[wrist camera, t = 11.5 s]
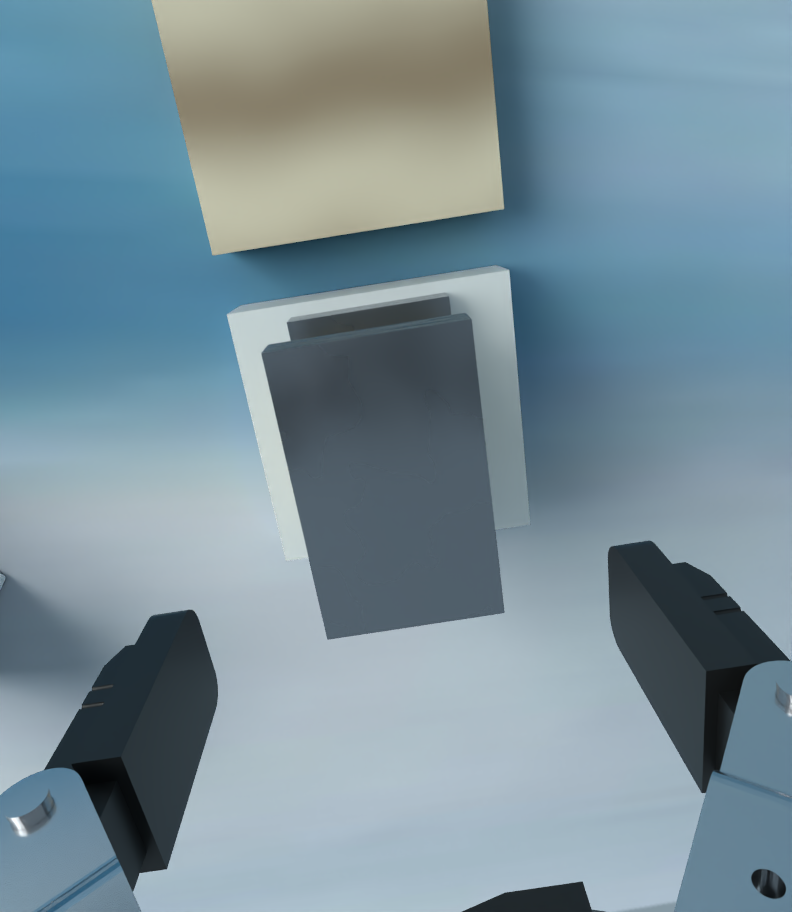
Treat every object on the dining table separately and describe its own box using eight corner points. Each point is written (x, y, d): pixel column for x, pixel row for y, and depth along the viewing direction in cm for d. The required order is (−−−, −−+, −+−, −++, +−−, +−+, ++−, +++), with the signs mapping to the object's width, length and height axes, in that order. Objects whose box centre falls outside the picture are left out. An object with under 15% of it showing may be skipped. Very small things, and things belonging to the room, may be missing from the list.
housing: (291, 317, 22) (261, 353, 16) (445, 292, 22) (471, 318, 16) (338, 541, 26) (327, 639, 20) (473, 520, 25) (504, 612, 19)
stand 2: (240, 305, 25) (226, 314, 22) (496, 265, 24) (509, 270, 22) (293, 532, 28) (286, 561, 26) (517, 499, 28) (530, 524, 26)
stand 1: (153, -71, 20) (125, -108, 18) (461, -123, 20) (472, -167, 18) (228, 251, 24) (212, 255, 22) (491, 210, 24) (504, 208, 21)
